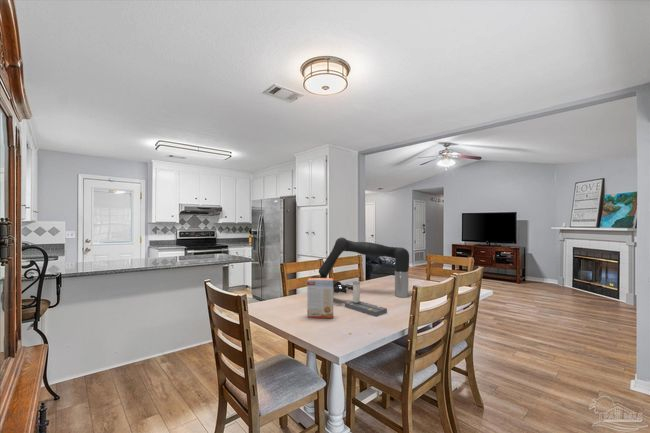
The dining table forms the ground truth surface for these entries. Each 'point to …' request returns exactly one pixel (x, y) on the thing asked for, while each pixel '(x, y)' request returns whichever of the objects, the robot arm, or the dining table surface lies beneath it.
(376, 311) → the fader console
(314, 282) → the cracker box
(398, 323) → the dining table surface
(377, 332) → the dining table surface
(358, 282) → the fader tab
